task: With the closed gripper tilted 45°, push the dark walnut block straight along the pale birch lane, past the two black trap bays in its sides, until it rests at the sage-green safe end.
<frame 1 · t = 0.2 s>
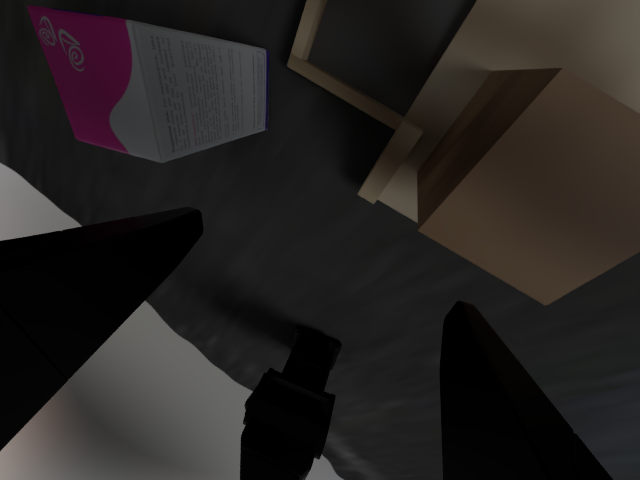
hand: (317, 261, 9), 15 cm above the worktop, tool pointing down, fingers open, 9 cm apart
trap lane: (546, 90, 16), on the worktop
supplement box: (238, 85, 21), on the worktop
walnut block: (495, 153, 17), point 1 cm above the worktop, touching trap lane
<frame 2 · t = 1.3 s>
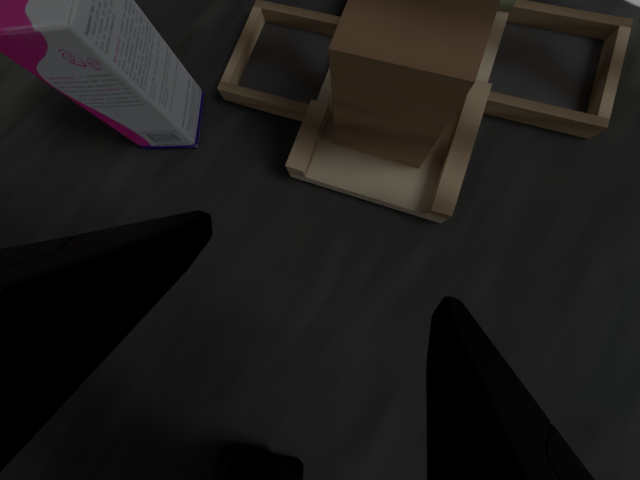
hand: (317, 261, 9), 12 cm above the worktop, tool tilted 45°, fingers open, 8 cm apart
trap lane: (402, 85, 23), on the worktop
supplement box: (175, 121, 25), on the worktop
walnut block: (389, 118, 21), point 1 cm above the worktop, touching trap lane
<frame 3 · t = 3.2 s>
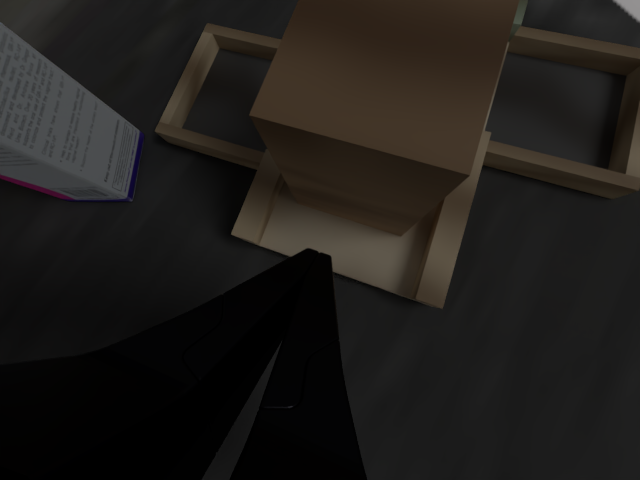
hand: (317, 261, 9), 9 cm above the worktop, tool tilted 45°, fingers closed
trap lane: (381, 127, 19), on the worktop
supplement box: (108, 167, 20), on the worktop
walnut block: (364, 171, 17), point 1 cm above the worktop, touching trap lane
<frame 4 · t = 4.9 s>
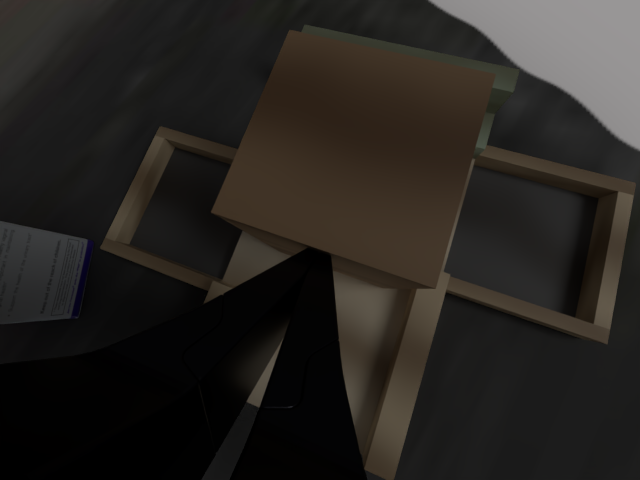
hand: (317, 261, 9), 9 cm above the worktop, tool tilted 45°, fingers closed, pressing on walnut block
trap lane: (341, 244, 18), on the worktop
supplement box: (56, 276, 19), on the worktop
walnut block: (348, 219, 17), point 1 cm above the worktop, touching gripper, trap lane
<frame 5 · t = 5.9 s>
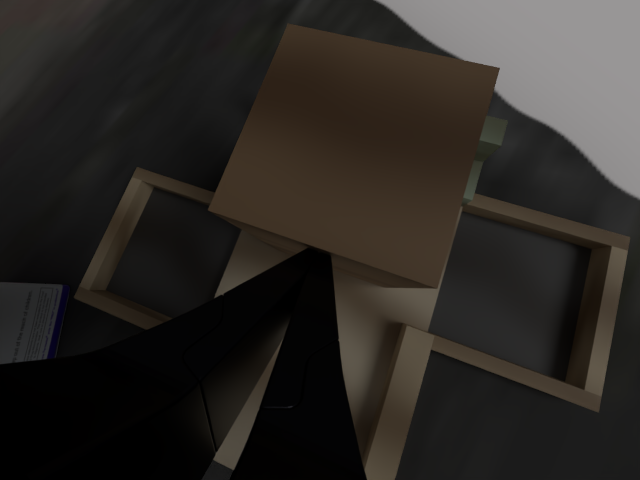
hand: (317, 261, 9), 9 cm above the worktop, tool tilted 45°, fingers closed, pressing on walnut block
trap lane: (324, 293, 17), on the worktop
supplement box: (31, 321, 19), on the worktop
walnut block: (348, 217, 17), point 1 cm above the worktop, touching gripper, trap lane
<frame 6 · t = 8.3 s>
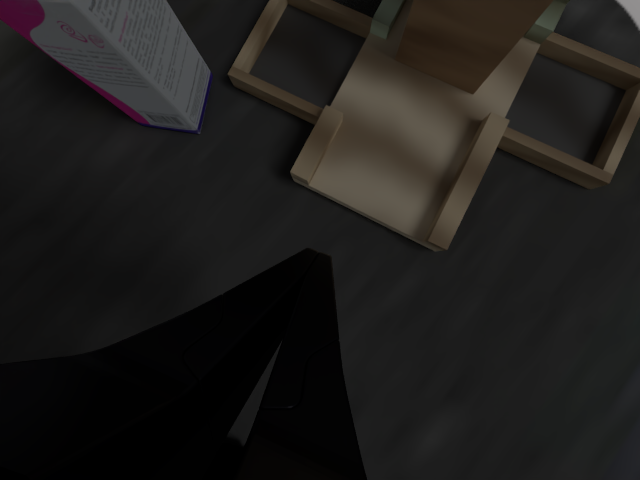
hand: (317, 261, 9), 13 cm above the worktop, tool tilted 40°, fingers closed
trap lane: (420, 102, 22), on the worktop
supplement box: (178, 100, 23), on the worktop
walnut block: (451, 41, 21), point 1 cm above the worktop, touching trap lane
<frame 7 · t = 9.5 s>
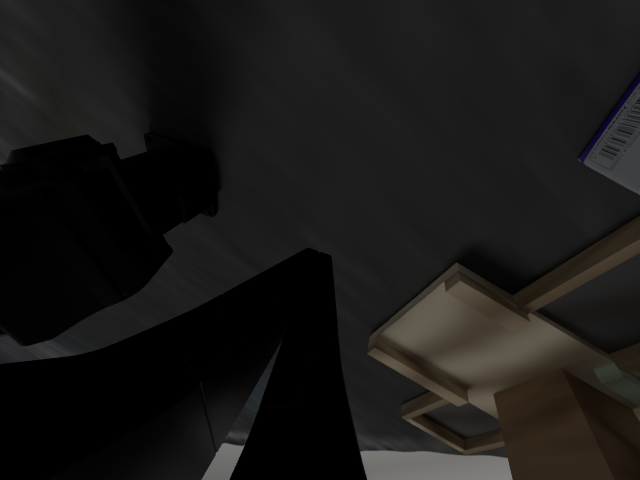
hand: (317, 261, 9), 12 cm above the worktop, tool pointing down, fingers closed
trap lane: (505, 363, 25), on the worktop
walnut block: (556, 401, 24), point 1 cm above the worktop, touching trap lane
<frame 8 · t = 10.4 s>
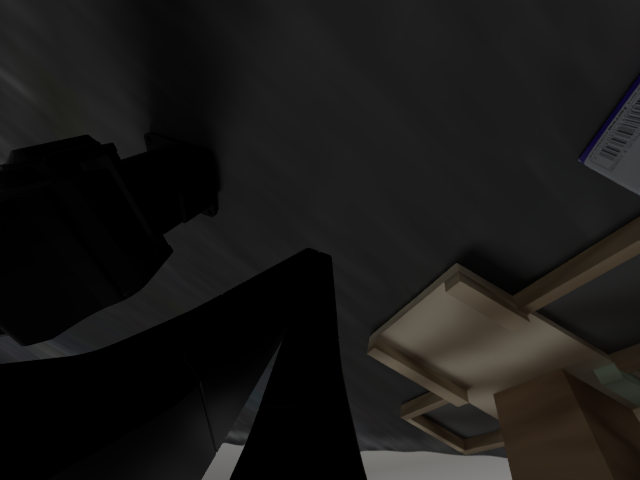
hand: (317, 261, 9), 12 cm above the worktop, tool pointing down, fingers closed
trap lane: (505, 363, 25), on the worktop
walnut block: (556, 401, 24), point 1 cm above the worktop, touching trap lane
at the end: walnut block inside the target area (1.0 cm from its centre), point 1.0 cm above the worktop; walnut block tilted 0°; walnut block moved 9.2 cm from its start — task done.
